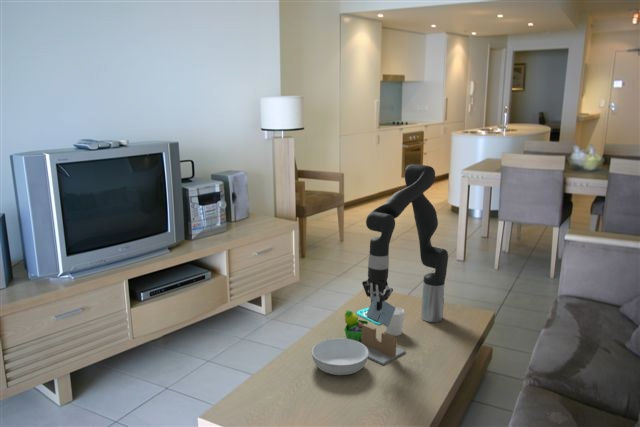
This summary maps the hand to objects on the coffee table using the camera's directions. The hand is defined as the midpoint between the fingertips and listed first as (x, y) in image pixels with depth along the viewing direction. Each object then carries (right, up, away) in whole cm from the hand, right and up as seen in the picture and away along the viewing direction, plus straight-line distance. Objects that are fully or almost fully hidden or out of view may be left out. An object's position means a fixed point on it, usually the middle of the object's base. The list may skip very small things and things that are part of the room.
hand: (376, 309), depth 197 cm
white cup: (+10, -15, +25) cm, 31 cm away
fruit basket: (-7, -15, +21) cm, 27 cm away
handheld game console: (+3, -11, +41) cm, 42 cm away
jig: (+2, -18, +8) cm, 20 cm away
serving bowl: (-14, -21, -4) cm, 26 cm away
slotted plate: (+1, -5, +2) cm, 5 cm away
